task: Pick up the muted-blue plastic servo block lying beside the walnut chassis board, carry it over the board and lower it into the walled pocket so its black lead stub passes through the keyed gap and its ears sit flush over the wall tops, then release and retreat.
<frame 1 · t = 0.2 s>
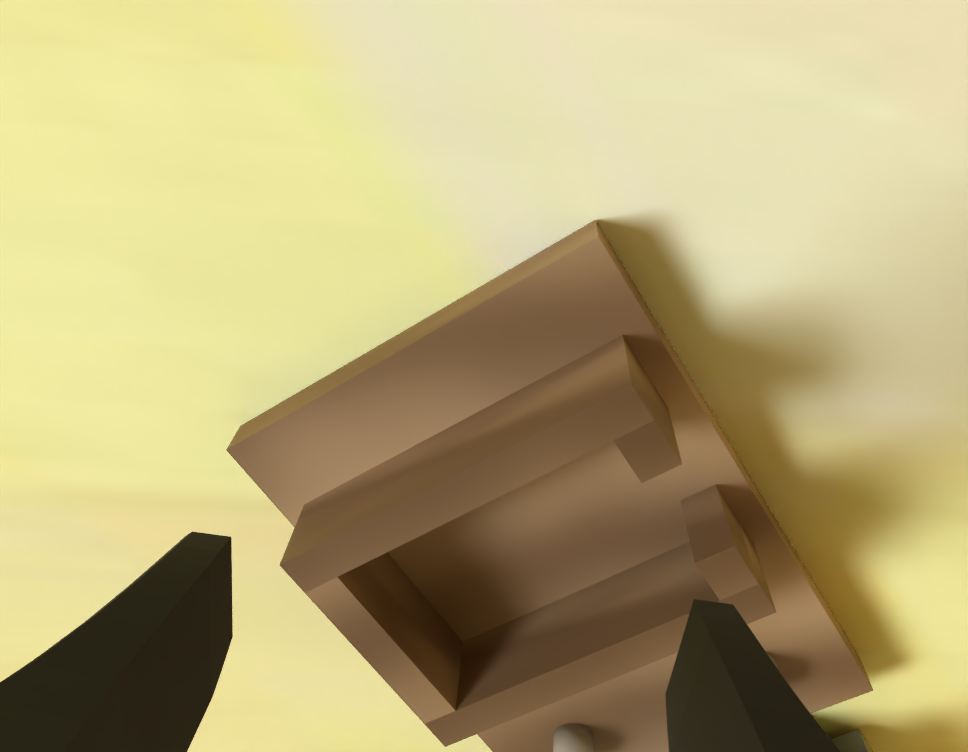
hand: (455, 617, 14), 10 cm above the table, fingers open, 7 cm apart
chassis board: (565, 548, 26), on the table
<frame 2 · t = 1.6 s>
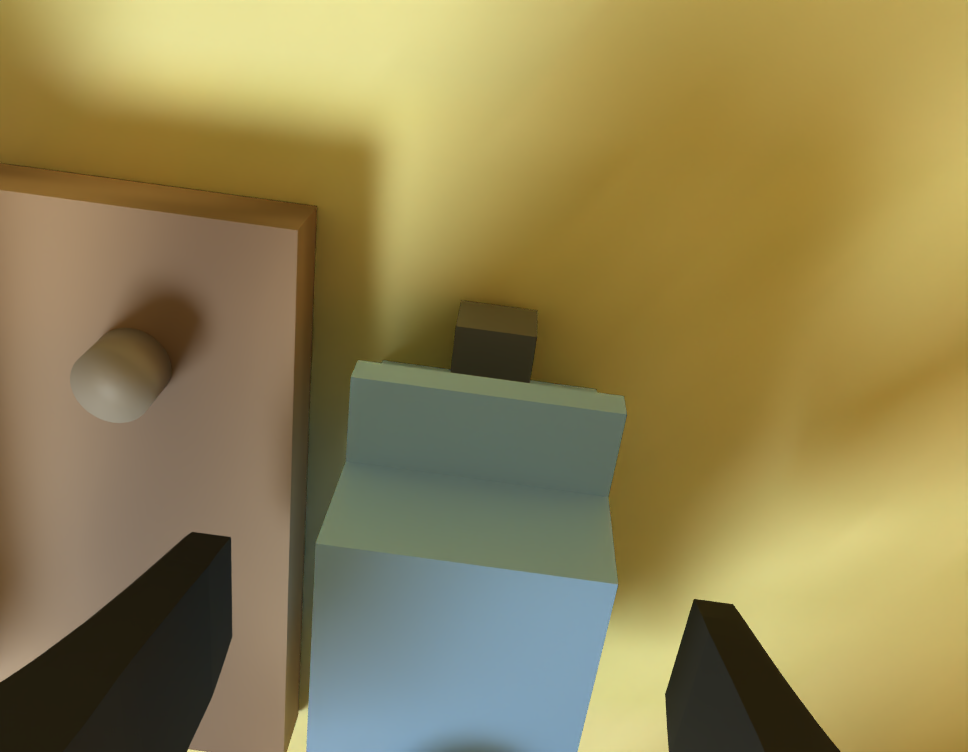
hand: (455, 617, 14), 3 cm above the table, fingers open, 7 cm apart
servo block: (469, 517, 16), on the table
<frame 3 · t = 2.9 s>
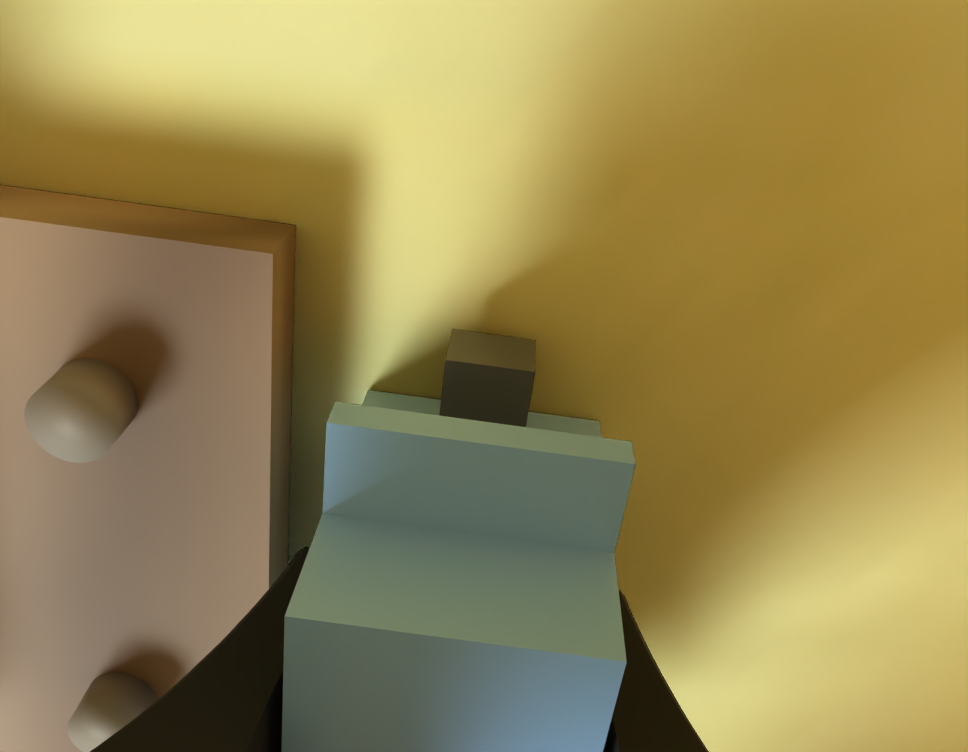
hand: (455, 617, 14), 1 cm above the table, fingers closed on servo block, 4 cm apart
servo block: (462, 558, 15), on the table, touching gripper
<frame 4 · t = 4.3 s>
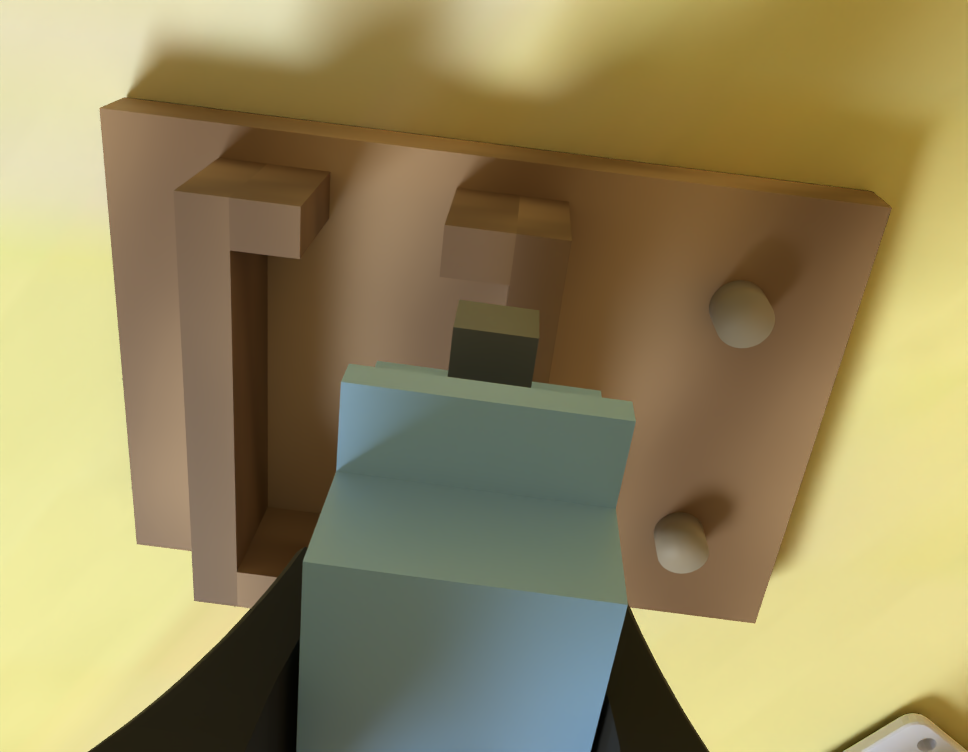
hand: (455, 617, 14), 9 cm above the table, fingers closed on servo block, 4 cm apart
chassis board: (471, 373, 22), on the table
servo block: (468, 526, 16), point 6 cm above the table, touching gripper
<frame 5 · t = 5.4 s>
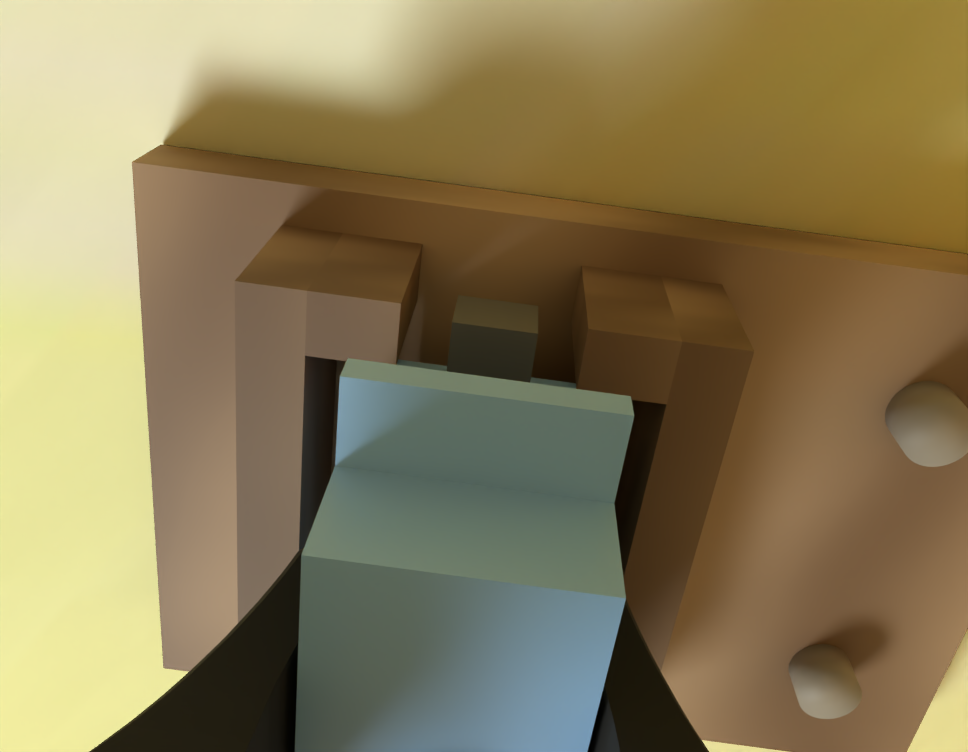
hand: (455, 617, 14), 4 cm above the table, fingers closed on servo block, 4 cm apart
chassis board: (572, 474, 18), on the table
servo block: (467, 522, 16), point 2 cm above the table, touching gripper
when the fingers open (4 cm above the table, at t = 6.0 s): servo block drops 1 cm, resting on chassis board.
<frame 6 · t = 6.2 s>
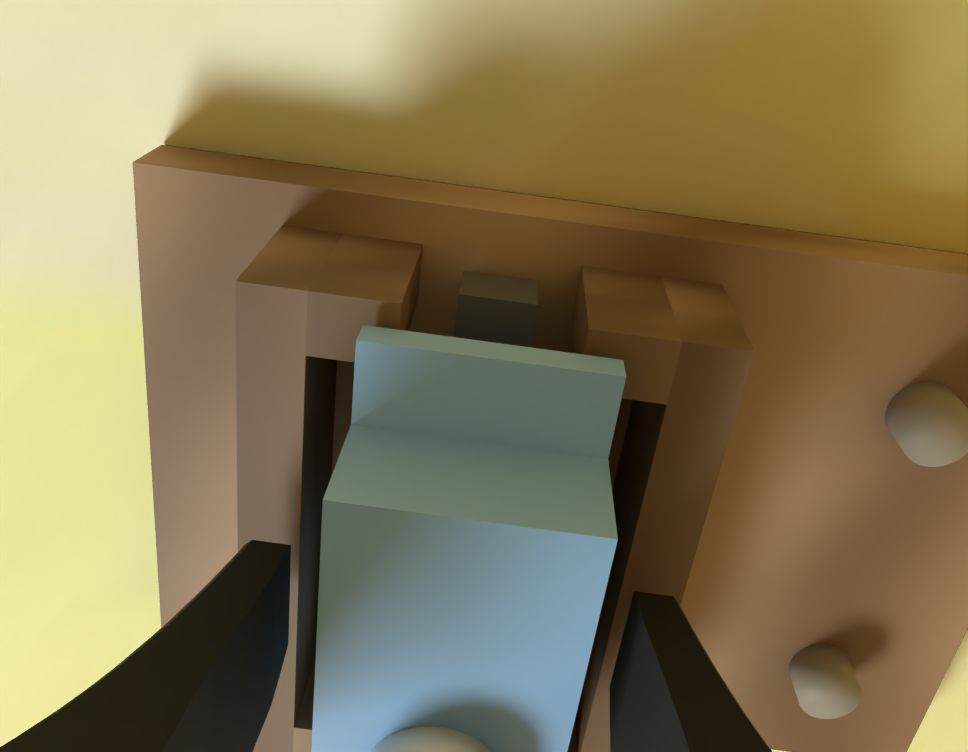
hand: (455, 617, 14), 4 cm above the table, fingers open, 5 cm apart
chassis board: (573, 475, 18), on the table
servo block: (471, 487, 17), point 1 cm above the table, touching chassis board
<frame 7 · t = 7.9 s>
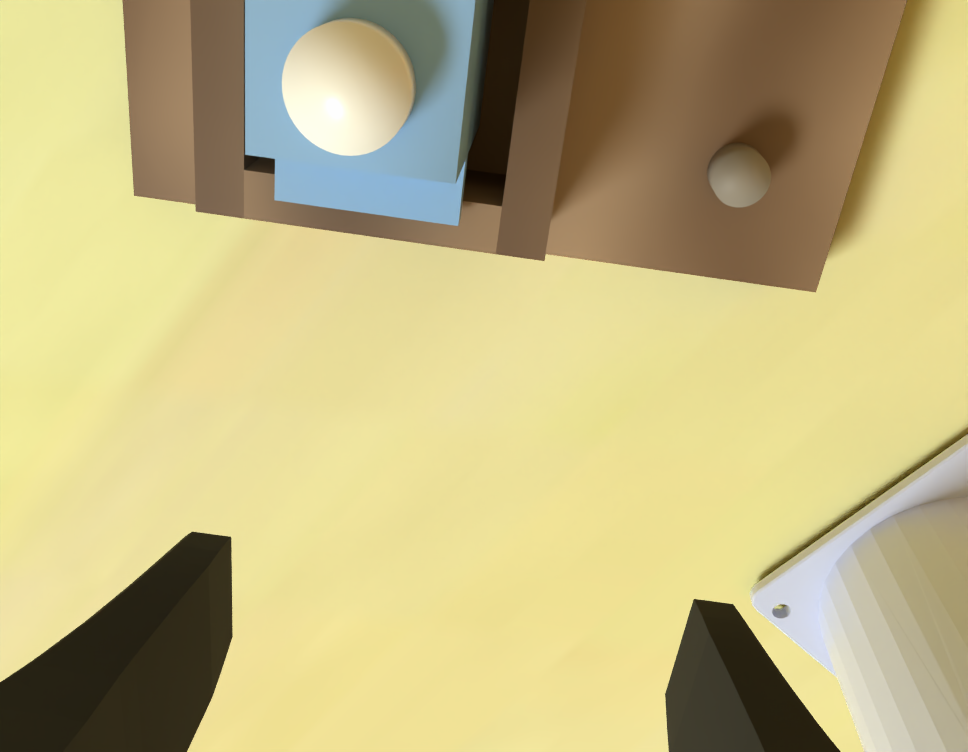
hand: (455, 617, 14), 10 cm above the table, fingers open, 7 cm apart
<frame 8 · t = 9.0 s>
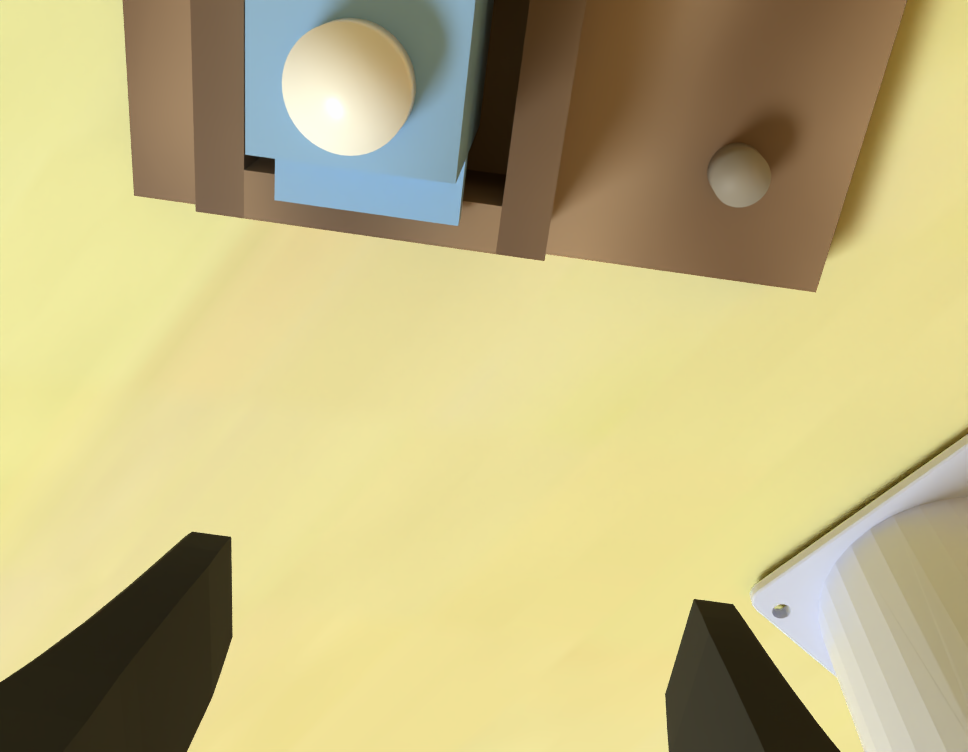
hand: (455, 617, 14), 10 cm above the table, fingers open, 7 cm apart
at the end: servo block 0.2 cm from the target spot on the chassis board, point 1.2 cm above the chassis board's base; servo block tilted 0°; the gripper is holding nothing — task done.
